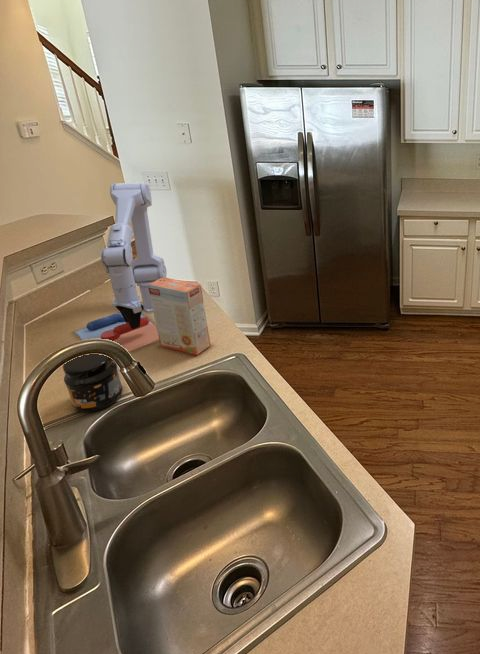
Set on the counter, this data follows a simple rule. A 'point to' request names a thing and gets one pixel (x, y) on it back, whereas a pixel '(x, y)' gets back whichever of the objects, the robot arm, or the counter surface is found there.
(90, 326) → the blue spoon
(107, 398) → the supplement container
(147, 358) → the counter surface
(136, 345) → the sorting mat
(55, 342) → the counter surface
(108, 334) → the red spoon
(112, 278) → the robot arm
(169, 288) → the cracker box
